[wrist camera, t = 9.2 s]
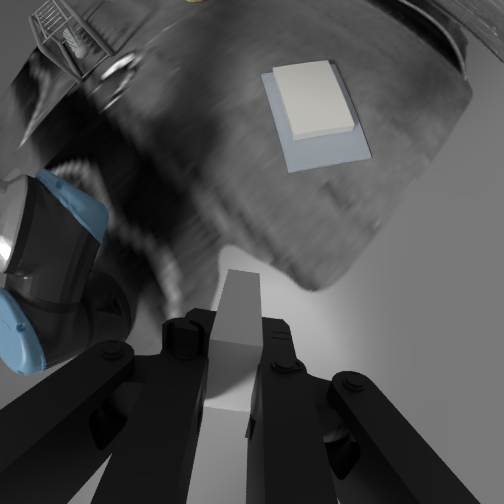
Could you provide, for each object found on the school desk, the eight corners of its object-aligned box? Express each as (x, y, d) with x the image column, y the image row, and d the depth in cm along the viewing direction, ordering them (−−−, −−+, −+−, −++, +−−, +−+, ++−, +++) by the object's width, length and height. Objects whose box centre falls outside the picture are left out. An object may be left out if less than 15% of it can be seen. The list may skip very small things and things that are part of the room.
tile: (354, 125, 40) (327, 60, 41) (294, 134, 41) (272, 67, 42) (351, 131, 42) (326, 68, 43) (293, 141, 43) (273, 75, 44)
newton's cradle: (59, 44, 53) (27, 16, 35) (85, 21, 52) (56, -11, 34) (82, 86, 50) (38, 50, 32) (116, 56, 49) (78, 13, 32)
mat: (371, 158, 42) (371, 157, 42) (288, 173, 44) (288, 172, 43) (334, 65, 44) (334, 63, 43) (261, 75, 45) (261, 74, 45)
